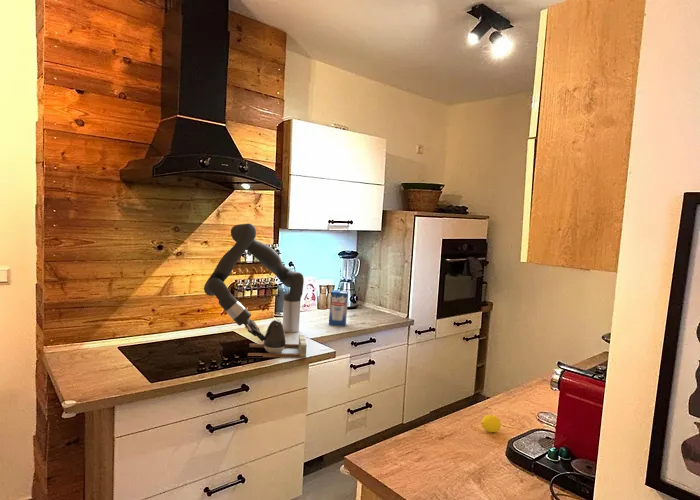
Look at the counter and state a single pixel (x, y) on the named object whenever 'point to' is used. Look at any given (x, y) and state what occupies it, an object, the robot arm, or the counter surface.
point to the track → (301, 346)
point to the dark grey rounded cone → (275, 337)
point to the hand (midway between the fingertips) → (263, 339)
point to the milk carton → (338, 308)
